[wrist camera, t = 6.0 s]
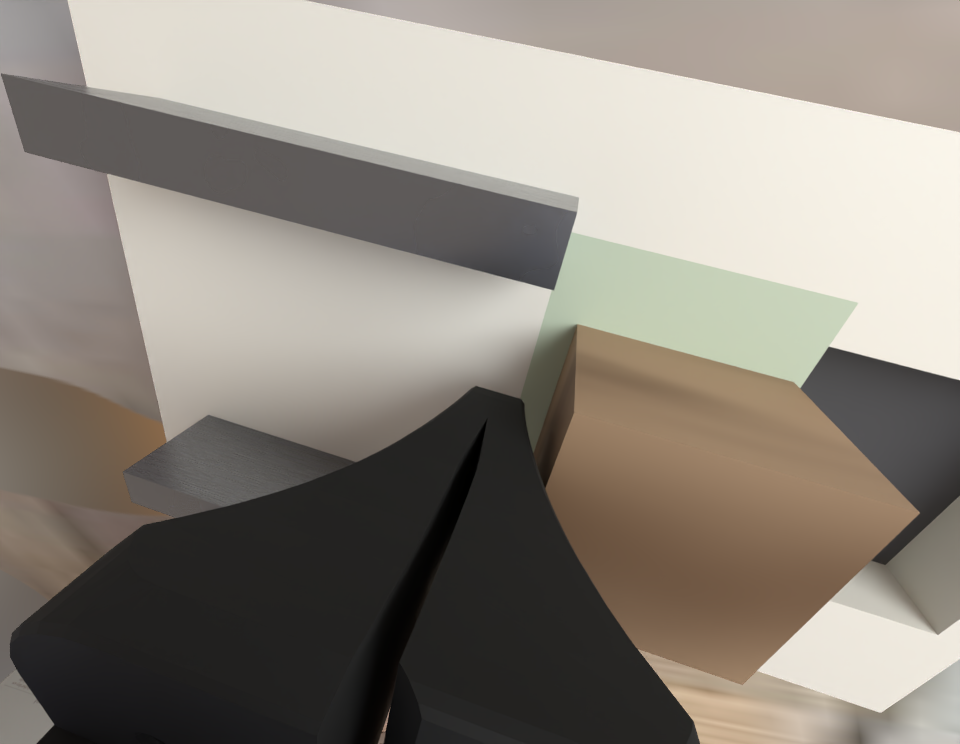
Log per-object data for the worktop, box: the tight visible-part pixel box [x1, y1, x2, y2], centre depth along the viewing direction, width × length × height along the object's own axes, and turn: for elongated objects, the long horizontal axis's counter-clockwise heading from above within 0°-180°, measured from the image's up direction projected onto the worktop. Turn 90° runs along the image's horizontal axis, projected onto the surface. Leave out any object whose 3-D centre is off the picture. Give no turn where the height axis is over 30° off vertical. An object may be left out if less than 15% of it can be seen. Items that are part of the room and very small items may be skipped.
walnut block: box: [533, 324, 920, 685], centre depth 9 cm, size 5×5×4 cm
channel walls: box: [1, 74, 579, 518], centre depth 10 cm, size 10×10×3 cm
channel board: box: [68, 0, 960, 713], centre depth 12 cm, size 15×26×2 cm, turn 78°
